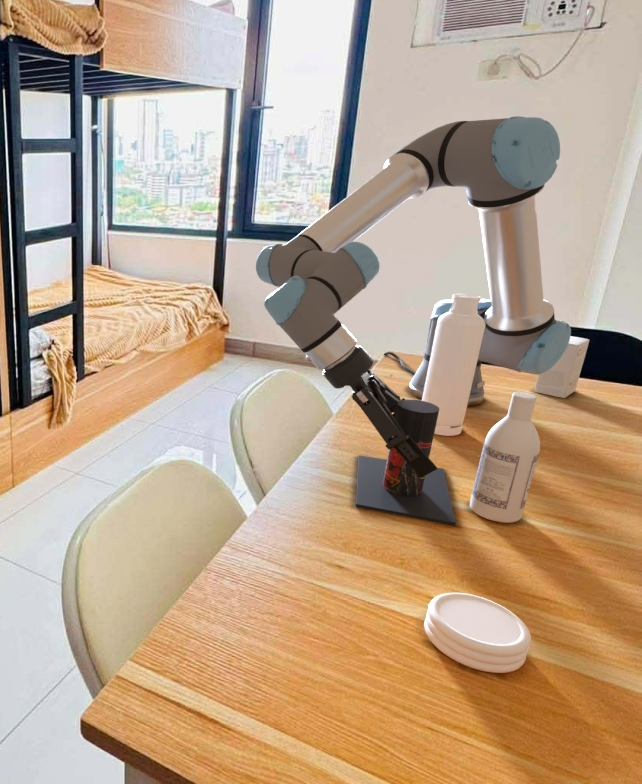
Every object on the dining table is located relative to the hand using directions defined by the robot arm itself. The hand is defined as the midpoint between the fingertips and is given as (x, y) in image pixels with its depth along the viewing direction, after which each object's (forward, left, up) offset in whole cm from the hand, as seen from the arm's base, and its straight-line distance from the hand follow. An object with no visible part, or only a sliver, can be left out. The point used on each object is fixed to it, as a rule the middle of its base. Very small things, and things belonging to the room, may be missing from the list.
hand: (426, 455), depth 103 cm
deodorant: (0, -3, -7) cm, 7 cm away
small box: (-69, +33, -7) cm, 77 cm away
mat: (-1, -2, -7) cm, 8 cm away
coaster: (+37, +4, -7) cm, 38 cm away
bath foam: (+2, +11, -7) cm, 13 cm away
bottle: (-33, +6, -7) cm, 34 cm away
